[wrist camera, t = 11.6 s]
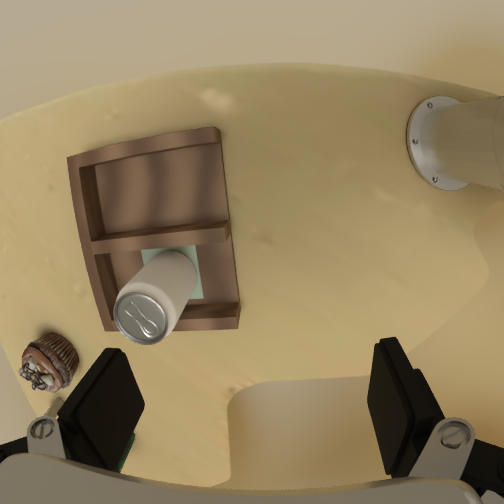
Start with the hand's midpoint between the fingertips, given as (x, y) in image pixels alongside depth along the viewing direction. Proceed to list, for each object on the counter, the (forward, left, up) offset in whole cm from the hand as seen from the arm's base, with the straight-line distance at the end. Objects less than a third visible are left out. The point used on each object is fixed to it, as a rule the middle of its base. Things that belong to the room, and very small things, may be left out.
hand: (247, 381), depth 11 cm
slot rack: (+13, 0, -28) cm, 31 cm away
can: (+11, +6, -27) cm, 30 cm away
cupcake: (+37, +19, -29) cm, 50 cm away
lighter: (+44, +32, -29) cm, 61 cm away
